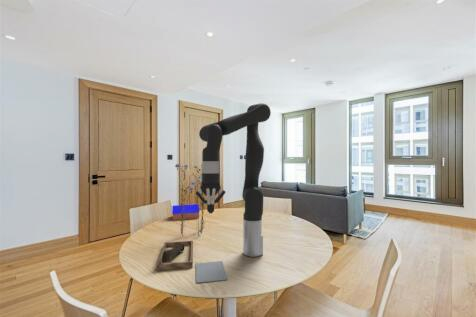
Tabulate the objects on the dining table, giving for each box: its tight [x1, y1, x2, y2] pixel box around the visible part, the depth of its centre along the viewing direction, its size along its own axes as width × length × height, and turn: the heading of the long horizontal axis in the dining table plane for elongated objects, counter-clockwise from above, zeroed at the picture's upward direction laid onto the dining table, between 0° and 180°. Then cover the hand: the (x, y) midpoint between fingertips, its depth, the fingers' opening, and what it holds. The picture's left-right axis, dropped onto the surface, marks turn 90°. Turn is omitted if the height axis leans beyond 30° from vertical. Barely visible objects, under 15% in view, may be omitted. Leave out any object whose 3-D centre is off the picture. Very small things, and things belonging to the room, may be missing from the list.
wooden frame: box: [156, 240, 194, 272], centre depth 110 cm, size 15×26×2 cm, turn 11°
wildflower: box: [174, 163, 206, 238], centre depth 139 cm, size 22×23×45 cm
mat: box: [195, 260, 228, 284], centre depth 95 cm, size 12×16×1 cm
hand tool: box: [162, 243, 185, 263], centre depth 106 cm, size 19×4×5 cm, turn 167°
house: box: [171, 203, 200, 221], centre depth 176 cm, size 12×20×12 cm, turn 105°
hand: (210, 212), depth 95 cm, fingers closed
